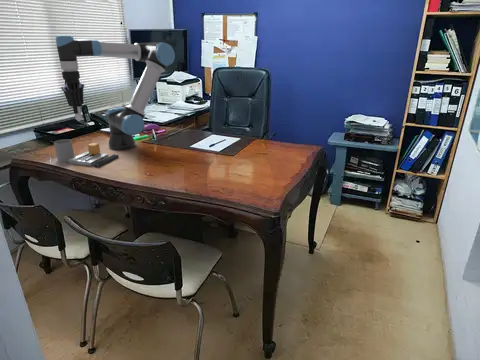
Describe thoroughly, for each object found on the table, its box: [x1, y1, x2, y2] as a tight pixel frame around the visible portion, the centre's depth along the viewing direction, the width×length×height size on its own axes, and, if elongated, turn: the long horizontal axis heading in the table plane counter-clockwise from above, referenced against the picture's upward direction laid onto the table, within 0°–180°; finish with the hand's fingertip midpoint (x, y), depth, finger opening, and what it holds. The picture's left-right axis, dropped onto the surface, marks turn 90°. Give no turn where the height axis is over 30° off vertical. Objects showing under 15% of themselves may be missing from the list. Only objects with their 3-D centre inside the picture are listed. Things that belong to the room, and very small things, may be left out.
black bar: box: [93, 153, 119, 168], centre depth 179 cm, size 17×3×2 cm, turn 163°
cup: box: [53, 138, 76, 163], centre depth 181 cm, size 8×8×10 cm
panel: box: [67, 151, 110, 167], centre depth 181 cm, size 14×14×3 cm
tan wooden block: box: [87, 142, 101, 155], centre depth 185 cm, size 4×4×5 cm
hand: (79, 119), depth 171 cm, fingers closed
